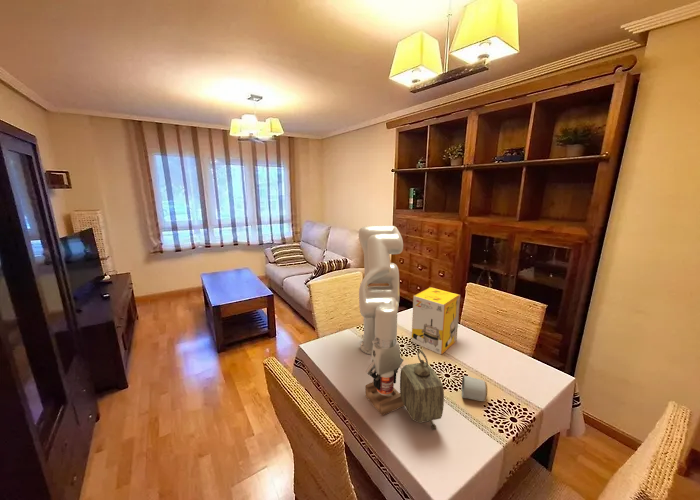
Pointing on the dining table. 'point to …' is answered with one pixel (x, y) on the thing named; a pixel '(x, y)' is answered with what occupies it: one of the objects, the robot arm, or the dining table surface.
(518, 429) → the dining table surface
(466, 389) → the ceramic mug
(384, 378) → the pill bottle
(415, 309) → the packaging box
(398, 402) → the tray
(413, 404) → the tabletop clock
